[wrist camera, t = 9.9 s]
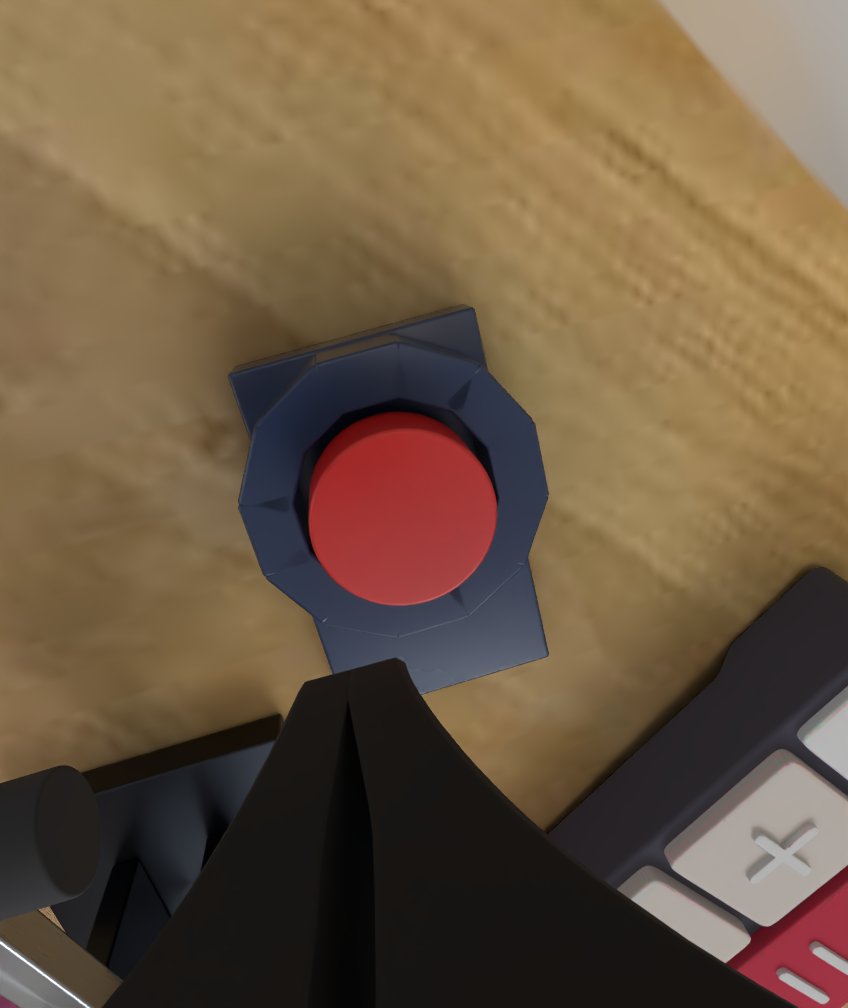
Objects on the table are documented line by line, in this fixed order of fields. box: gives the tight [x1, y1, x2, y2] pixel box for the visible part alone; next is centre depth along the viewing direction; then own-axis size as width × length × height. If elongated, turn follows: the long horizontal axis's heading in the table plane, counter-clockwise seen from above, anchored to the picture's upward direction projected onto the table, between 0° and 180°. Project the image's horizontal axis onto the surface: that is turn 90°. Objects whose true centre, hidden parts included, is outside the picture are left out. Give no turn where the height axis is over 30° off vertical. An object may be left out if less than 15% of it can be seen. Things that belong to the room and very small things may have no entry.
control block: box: [228, 304, 549, 695], centre depth 18 cm, size 10×7×3 cm
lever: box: [0, 766, 123, 1008], centre depth 14 cm, size 11×5×2 cm, turn 14°
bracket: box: [50, 715, 284, 981], centre depth 18 cm, size 8×8×8 cm
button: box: [308, 411, 497, 606], centre depth 16 cm, size 4×4×2 cm
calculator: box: [547, 567, 848, 1008], centre depth 23 cm, size 11×4×15 cm
